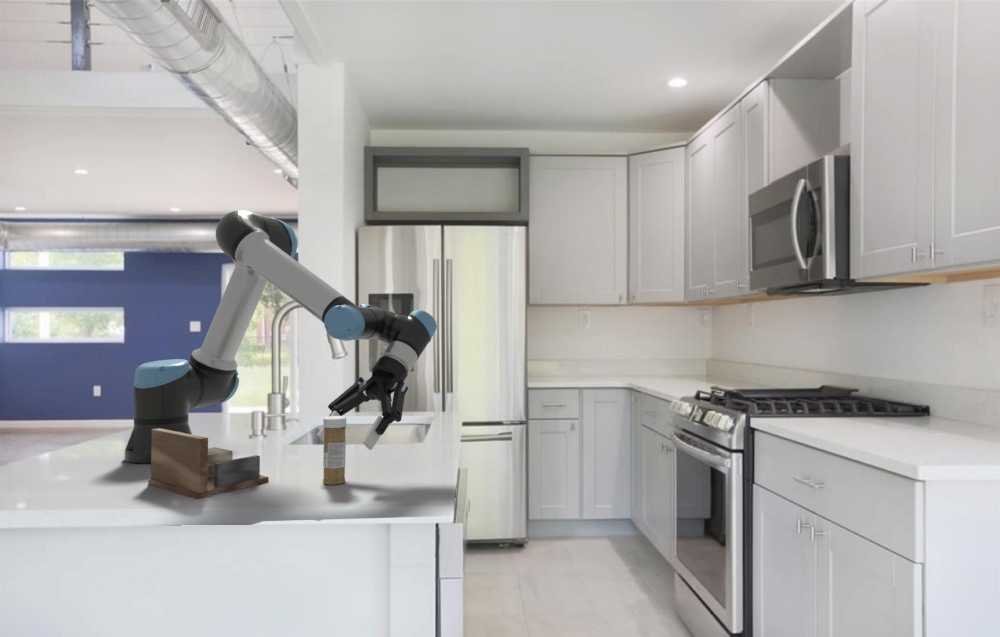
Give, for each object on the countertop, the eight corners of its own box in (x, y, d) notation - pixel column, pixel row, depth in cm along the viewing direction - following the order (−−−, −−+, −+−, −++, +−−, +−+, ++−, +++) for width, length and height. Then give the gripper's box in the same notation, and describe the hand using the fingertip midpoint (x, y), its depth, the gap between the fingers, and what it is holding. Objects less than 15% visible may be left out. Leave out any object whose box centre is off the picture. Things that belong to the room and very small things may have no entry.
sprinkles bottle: (324, 480, 123) (324, 415, 124) (346, 479, 124) (347, 415, 124) (321, 486, 119) (322, 418, 119) (344, 485, 120) (345, 418, 120)
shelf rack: (219, 469, 132) (219, 420, 132) (268, 481, 122) (269, 428, 122) (148, 484, 119) (149, 429, 120) (196, 499, 109) (197, 439, 110)
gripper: (444, 379, 131) (396, 460, 118) (364, 374, 144) (313, 446, 132) (428, 356, 126) (377, 437, 113) (347, 353, 140) (293, 425, 127)
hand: (343, 442), depth 123 cm, fingers open, 13 cm apart
